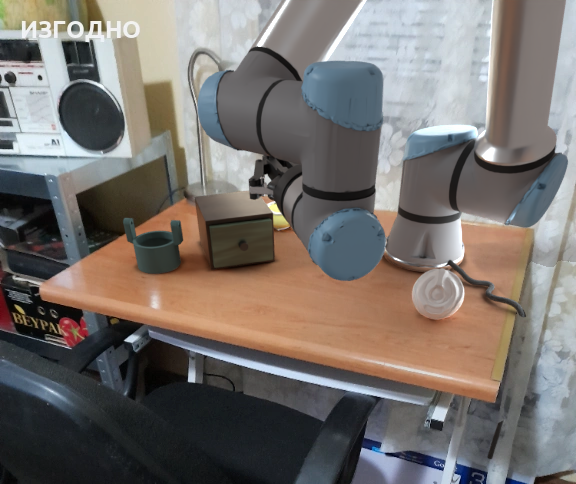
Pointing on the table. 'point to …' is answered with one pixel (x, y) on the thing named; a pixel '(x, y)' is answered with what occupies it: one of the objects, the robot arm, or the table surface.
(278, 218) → the emoji
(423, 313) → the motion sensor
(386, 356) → the table surface
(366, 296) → the table surface
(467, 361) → the table surface
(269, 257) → the case drawer
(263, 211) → the case
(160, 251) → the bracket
